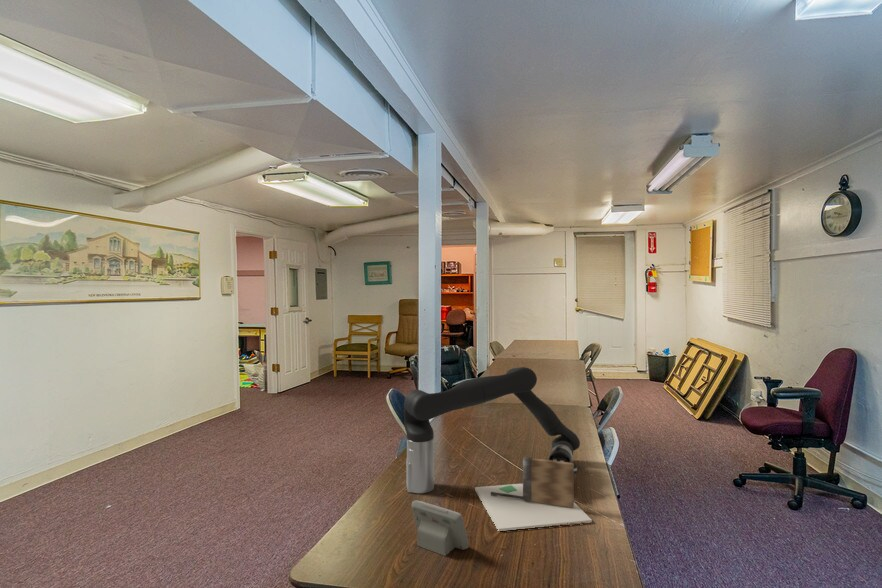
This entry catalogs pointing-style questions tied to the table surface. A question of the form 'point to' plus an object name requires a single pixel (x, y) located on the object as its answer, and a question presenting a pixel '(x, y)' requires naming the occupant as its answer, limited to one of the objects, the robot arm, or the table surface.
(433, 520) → the digital clock
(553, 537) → the table surface
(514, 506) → the thin white panel
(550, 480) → the wooden board with post
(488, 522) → the table surface
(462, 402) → the robot arm
